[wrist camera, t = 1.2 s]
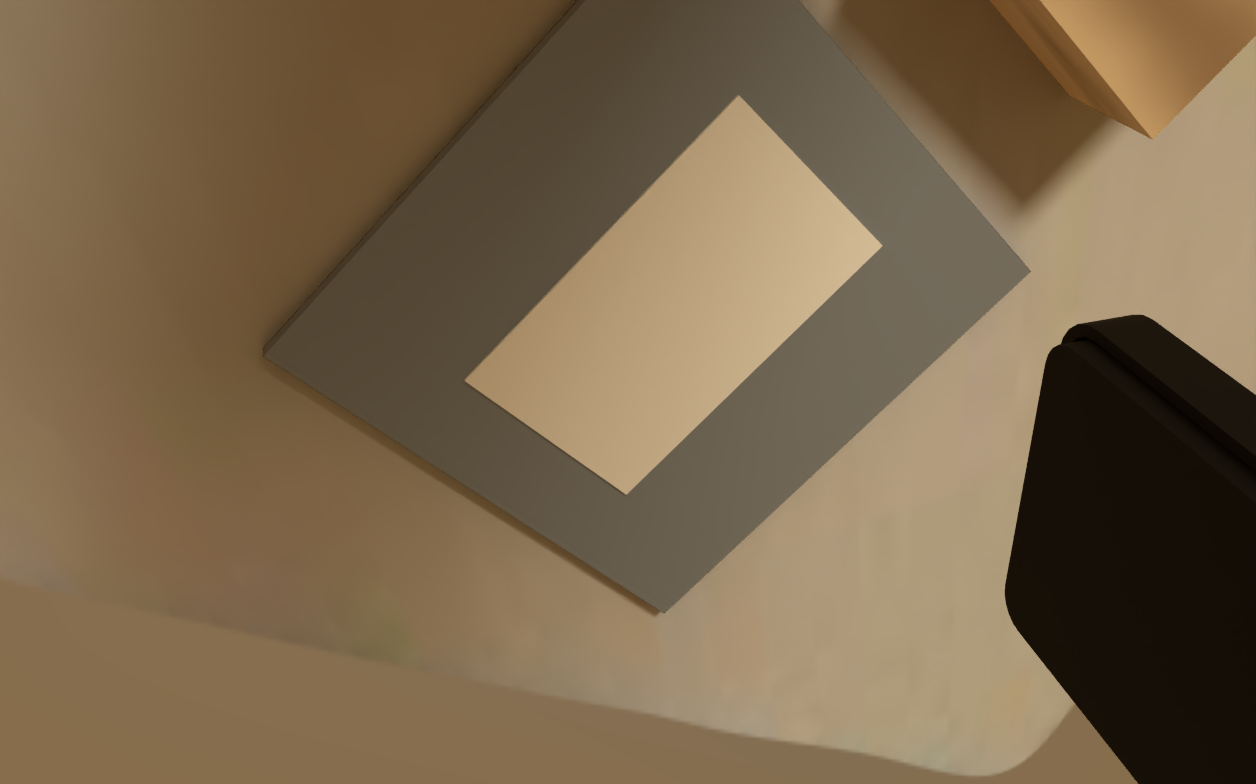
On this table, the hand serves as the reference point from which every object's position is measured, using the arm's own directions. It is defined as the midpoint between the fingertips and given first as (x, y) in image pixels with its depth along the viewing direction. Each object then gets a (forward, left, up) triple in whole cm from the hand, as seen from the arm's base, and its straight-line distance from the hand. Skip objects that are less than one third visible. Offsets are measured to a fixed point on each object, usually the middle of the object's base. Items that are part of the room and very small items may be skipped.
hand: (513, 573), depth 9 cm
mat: (+1, +15, -25) cm, 29 cm away
